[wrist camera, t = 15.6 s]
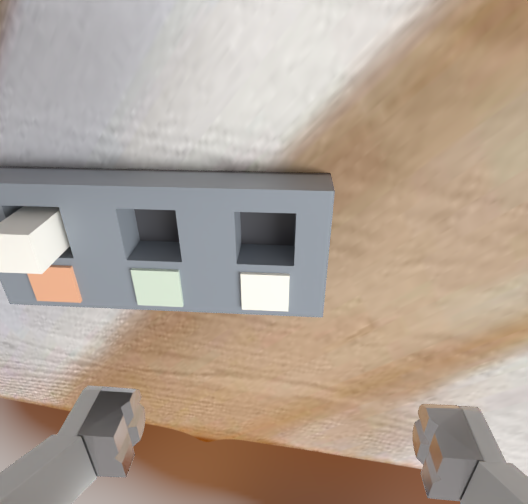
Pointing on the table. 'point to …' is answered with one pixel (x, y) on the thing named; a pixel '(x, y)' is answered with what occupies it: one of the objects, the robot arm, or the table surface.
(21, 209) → the plug
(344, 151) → the table surface
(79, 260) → the socket block
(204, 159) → the table surface
